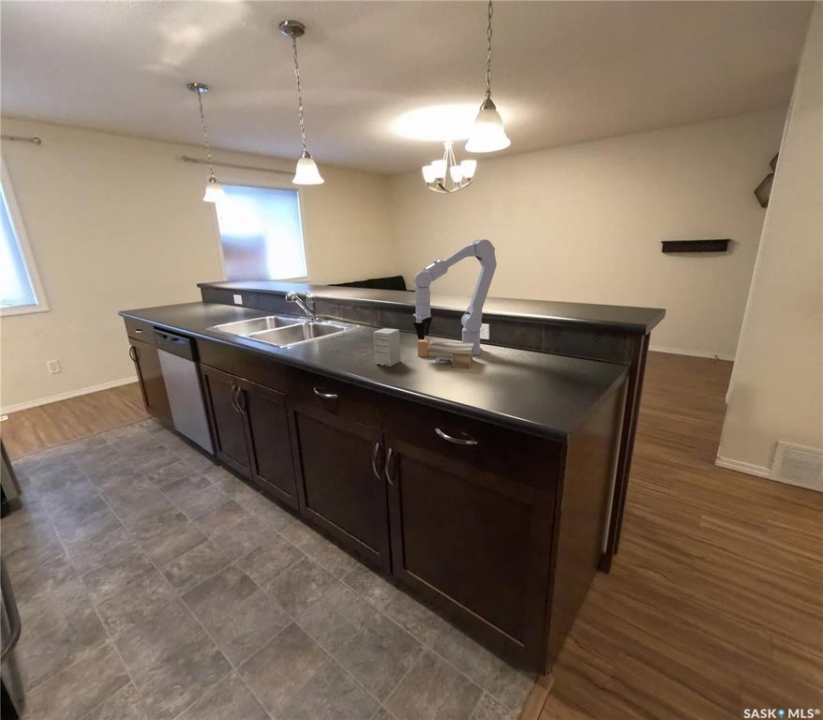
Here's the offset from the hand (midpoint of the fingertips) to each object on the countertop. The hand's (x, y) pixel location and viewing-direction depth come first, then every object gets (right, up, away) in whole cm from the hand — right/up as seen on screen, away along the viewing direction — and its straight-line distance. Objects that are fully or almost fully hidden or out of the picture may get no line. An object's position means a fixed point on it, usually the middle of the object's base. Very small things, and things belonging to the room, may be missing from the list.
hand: (423, 337), depth 154 cm
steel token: (+7, -10, -8) cm, 15 cm away
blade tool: (+5, -7, +1) cm, 9 cm away
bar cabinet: (+9, -10, -9) cm, 17 cm away
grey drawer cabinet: (-14, -10, -7) cm, 19 cm away
